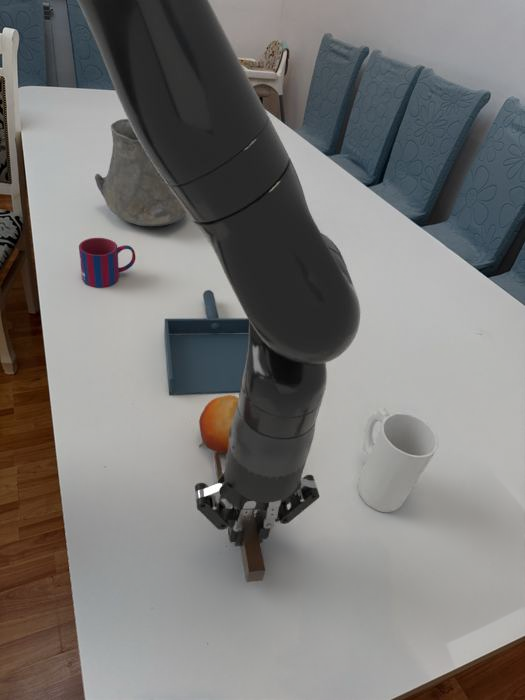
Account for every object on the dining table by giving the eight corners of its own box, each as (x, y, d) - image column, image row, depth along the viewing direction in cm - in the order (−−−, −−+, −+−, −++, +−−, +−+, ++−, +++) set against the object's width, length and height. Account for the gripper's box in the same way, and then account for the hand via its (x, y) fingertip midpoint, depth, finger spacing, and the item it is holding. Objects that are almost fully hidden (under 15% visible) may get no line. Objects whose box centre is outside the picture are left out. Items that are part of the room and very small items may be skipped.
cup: (80, 269, 96) (77, 238, 92) (133, 267, 100) (132, 236, 95) (83, 288, 92) (80, 256, 87) (138, 285, 95) (138, 254, 91)
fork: (277, 578, 54) (281, 568, 53) (230, 584, 53) (232, 574, 52) (251, 457, 66) (254, 446, 65) (213, 460, 65) (214, 448, 64)
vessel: (110, 244, 105) (105, 148, 92) (92, 199, 120) (85, 111, 107) (208, 237, 113) (215, 148, 101) (179, 195, 128) (182, 113, 115)
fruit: (192, 405, 71) (224, 376, 67) (235, 433, 74) (269, 407, 70) (177, 449, 65) (212, 420, 61) (225, 477, 68) (262, 452, 63)
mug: (415, 507, 66) (450, 449, 58) (373, 521, 63) (403, 463, 55) (374, 448, 72) (401, 390, 65) (335, 458, 70) (357, 399, 62)
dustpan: (278, 390, 79) (281, 375, 76) (168, 395, 74) (169, 378, 72) (250, 300, 96) (253, 286, 94) (161, 300, 92) (161, 285, 90)
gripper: (199, 480, 42) (189, 577, 53) (351, 469, 45) (312, 562, 56) (192, 414, 47) (184, 514, 58) (327, 408, 51) (296, 504, 62)
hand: (247, 537), depth 57 cm, fingers closed on fork, 2 cm apart
